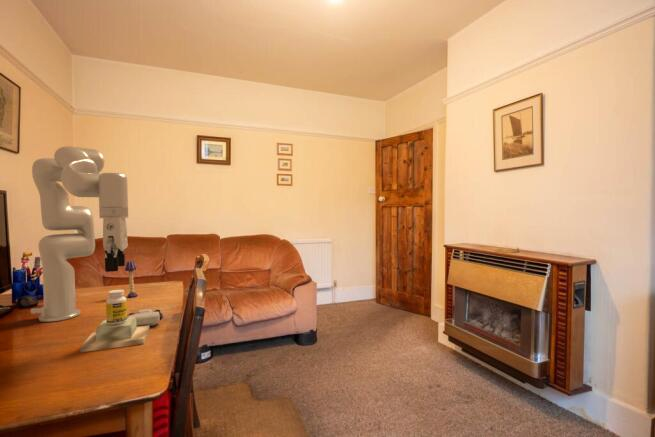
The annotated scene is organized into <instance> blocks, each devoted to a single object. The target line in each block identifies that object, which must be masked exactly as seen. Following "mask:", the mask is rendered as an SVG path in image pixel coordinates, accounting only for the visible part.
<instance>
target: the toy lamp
mask: <svg viewBox="0 0 655 437" xmlns="http://www.w3.org/2000/svg"><path fill="white" fill-rule="evenodd" d="M136 270H137V266H136V264H135V261H134V260H129V261H126V262H125V267H124V271H126V272H128V276H129V277H128V282H129V293H128V294H127V297H128V298H127V297H126V298H127V299H130V298H131V297H133V298H137V297H138V296H139V295H138V293H136V292H135V284H134V271H136ZM131 299H132V298H131Z"/></svg>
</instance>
